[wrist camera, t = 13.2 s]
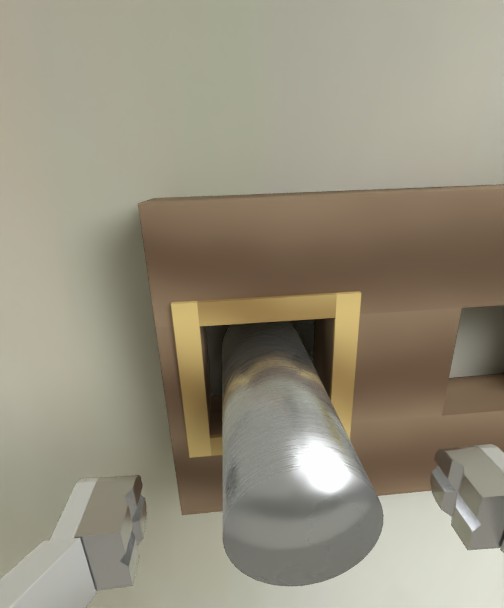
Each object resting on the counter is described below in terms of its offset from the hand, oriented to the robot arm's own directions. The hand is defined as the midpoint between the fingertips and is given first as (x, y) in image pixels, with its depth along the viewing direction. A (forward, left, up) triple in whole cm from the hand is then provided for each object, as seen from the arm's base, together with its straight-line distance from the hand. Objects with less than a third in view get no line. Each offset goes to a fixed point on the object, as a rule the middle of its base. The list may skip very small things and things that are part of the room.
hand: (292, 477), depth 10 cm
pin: (+1, 0, -9) cm, 9 cm away
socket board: (+1, +6, -9) cm, 10 cm away
